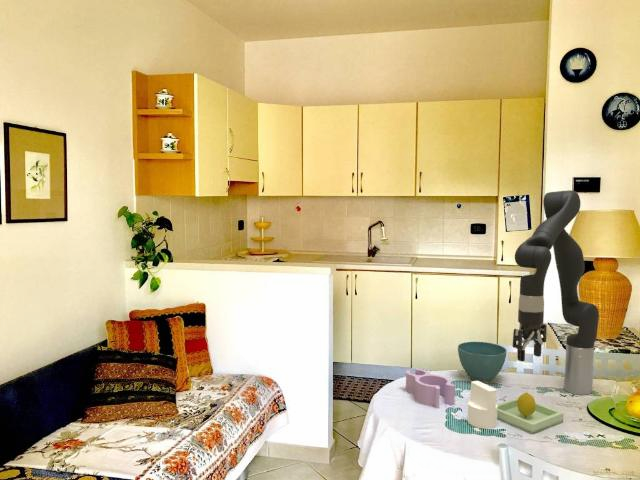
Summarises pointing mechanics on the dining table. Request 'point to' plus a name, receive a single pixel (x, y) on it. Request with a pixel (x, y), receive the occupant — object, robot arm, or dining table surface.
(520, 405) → the lemon
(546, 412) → the tray
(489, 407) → the base with upright slab
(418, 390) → the clip
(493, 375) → the teal bowl
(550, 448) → the dining table surface
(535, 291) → the robot arm
